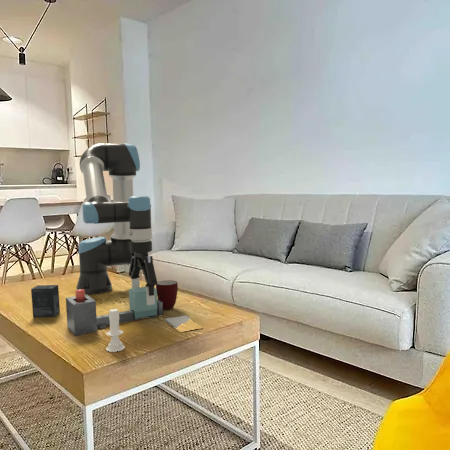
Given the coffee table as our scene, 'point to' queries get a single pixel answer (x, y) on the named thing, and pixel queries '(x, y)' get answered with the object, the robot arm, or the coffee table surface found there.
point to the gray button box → (81, 315)
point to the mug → (167, 293)
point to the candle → (114, 332)
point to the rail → (126, 316)
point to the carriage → (141, 303)
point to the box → (45, 300)
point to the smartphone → (177, 320)
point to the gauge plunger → (80, 295)
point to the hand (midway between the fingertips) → (143, 300)
